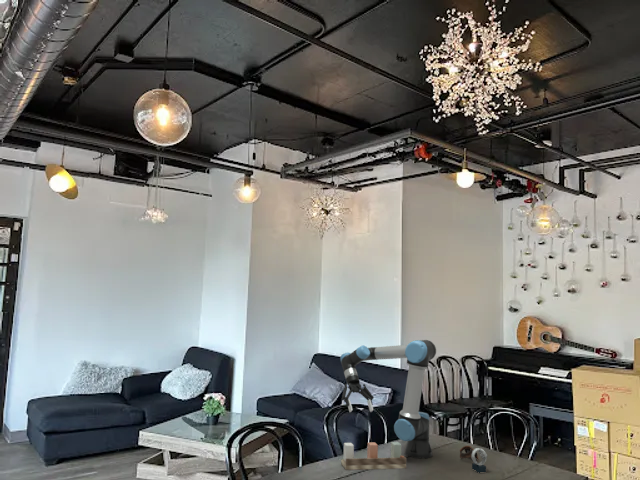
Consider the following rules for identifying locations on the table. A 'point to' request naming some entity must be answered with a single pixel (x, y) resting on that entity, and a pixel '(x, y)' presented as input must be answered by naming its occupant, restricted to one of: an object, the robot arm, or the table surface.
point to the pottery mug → (467, 452)
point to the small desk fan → (479, 466)
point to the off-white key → (348, 451)
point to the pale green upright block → (395, 450)
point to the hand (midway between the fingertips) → (361, 411)
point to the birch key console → (374, 463)
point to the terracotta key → (372, 450)
